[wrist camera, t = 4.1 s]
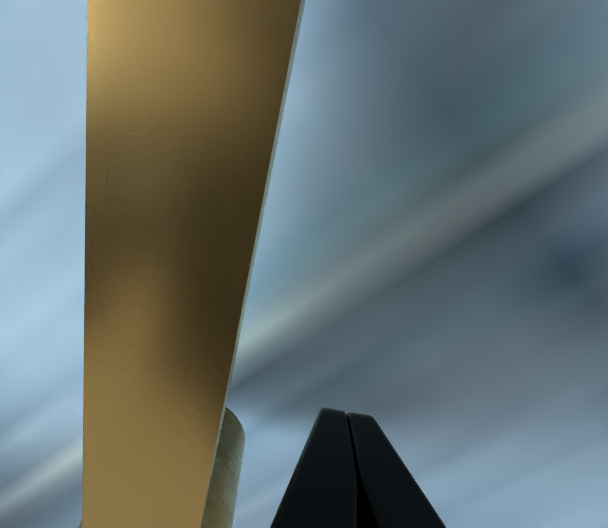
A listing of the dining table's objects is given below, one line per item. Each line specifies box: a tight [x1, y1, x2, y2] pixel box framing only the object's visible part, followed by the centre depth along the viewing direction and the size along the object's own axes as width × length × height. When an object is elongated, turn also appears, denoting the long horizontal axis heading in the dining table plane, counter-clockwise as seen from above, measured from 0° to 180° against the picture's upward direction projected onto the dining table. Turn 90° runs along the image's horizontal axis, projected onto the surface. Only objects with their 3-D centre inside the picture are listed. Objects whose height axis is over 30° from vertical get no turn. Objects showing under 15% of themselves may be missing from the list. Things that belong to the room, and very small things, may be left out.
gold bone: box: [79, 0, 305, 528], centre depth 7 cm, size 14×3×4 cm, turn 168°
